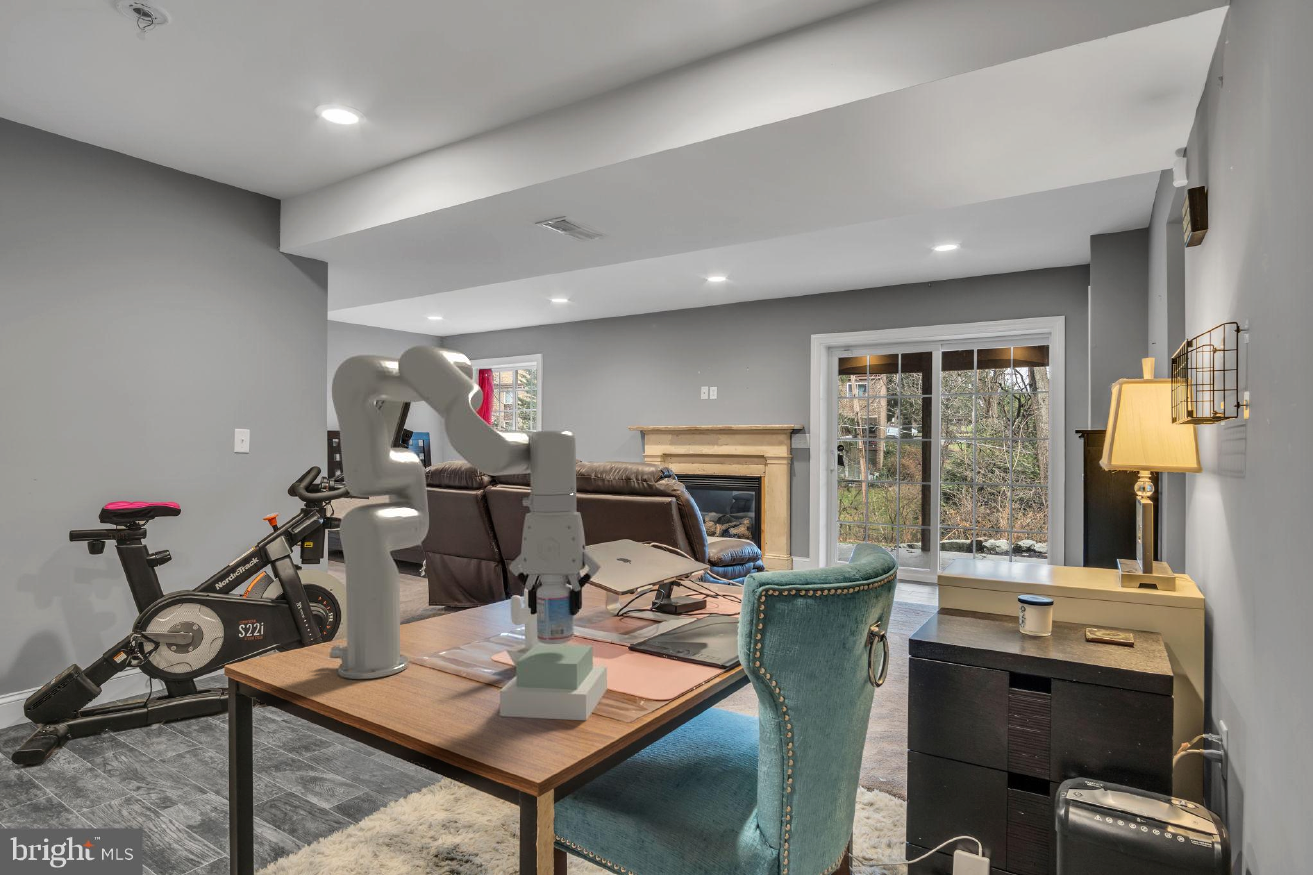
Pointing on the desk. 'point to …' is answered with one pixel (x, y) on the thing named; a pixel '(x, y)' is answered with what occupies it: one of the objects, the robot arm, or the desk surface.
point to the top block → (554, 666)
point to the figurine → (530, 622)
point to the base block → (554, 699)
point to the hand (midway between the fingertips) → (555, 612)
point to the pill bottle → (554, 610)
